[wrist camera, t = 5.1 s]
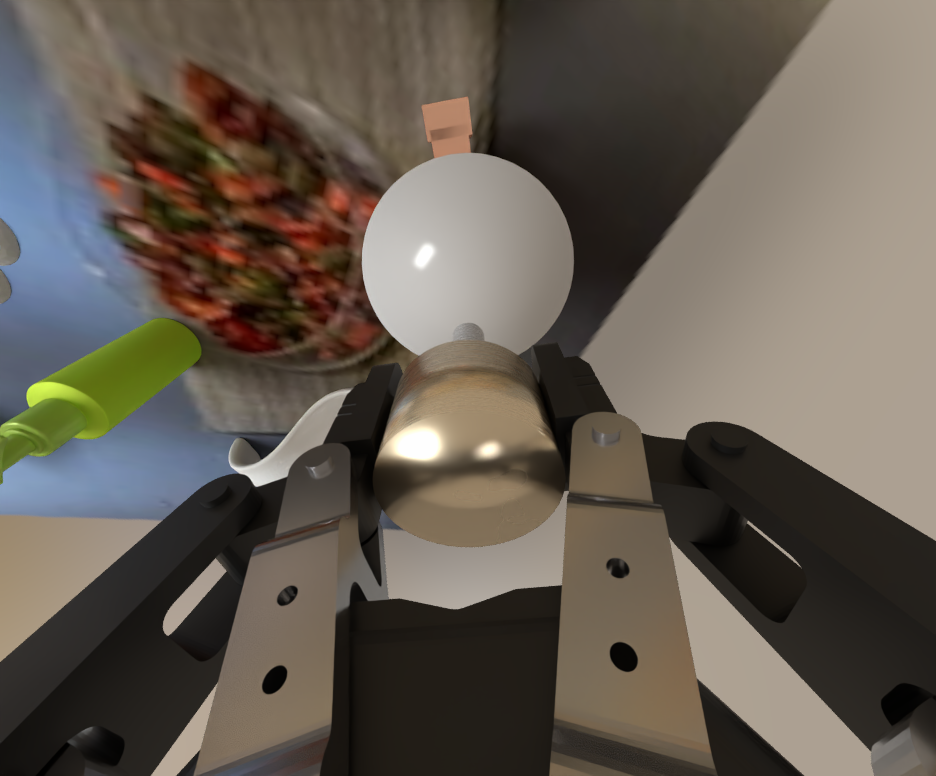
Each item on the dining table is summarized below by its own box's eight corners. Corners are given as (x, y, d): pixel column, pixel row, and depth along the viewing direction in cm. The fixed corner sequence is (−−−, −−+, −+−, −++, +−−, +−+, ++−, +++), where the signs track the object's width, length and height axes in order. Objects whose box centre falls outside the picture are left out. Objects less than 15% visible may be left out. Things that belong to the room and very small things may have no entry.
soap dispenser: (210, 330, 41) (31, 457, 24) (193, 374, 44) (24, 514, 27) (153, 299, 39) (-85, 414, 22) (139, 347, 42) (-79, 480, 25)
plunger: (403, 293, 13) (345, 425, 7) (517, 277, 13) (565, 399, 7) (427, 388, 15) (399, 554, 9) (525, 376, 15) (566, 538, 9)
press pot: (384, 131, 31) (314, 117, 17) (523, 106, 30) (574, 68, 16) (420, 292, 39) (392, 378, 24) (532, 275, 38) (573, 355, 23)
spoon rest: (385, 361, 43) (372, 395, 37) (426, 434, 49) (420, 474, 43) (219, 418, 48) (184, 457, 42) (275, 479, 54) (251, 521, 48)
